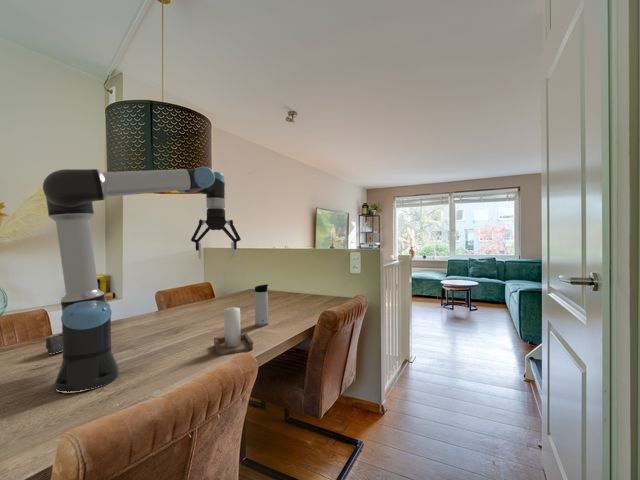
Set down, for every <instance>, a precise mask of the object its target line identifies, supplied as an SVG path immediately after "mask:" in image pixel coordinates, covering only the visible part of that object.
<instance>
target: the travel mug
mask: <svg viewBox="0 0 640 480" xmlns="http://www.w3.org/2000/svg"><path fill="white" fill-rule="evenodd" d="M268 286H269V284H261V285H256V286H254V310H255V311H254V319H255V320H254V321H255V323H254V325H255V326H256V327H266V326H268V325H269V301H268V300H269V297H268V295H269V293H268Z"/></svg>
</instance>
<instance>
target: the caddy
mask: <svg viewBox="0 0 640 480" xmlns="http://www.w3.org/2000/svg"><path fill="white" fill-rule="evenodd" d="M213 347H214V350H215V353H216V356H217V357H219V356H224V355H231V354H236V353H242V352H248V351H247V350H249V351H253V350H254V341H253V340H252V339H251V338H250V336H249V335H248V333H241V345H240V346H237V347H231V348H229V347H225V336H219V337H214V338H213ZM252 349H253V350H252ZM240 351H241V352H240Z"/></svg>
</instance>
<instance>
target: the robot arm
mask: <svg viewBox="0 0 640 480" xmlns="http://www.w3.org/2000/svg"><path fill="white" fill-rule="evenodd" d="M225 187H226V181H225V175H224V174H223V173H222V172H219V171H213V170H212V169H211V168H210V167H208V166H199V167H197V168H178V169H155V170H154V169H153V170H131V171H129V170H128V171H125V170H124V171H104V172H103V171H101V170H99V169H97V168H94V169H93V168H92V169H89V168H88V169H86V168H84V169H81V168H79V169H76V168H75V169H71V168H70V169H67V168H66V169H65V168H64V169H60V170H56V171H52V172H51V173H50V174H48V175H47V176H46V177H45V179H44V181H43V183H42V191H43V193H44V196H45V201H46V205H47V213H48V217H49V218H50V219H52V220H53V221H54V222H55V225H56V226H55V227H56V232H57V233H56V234H57V239H58V245H59V246H58V247H59V253H60V261H61V268H62V275H63V281H64V282H63V283H64V291H65V294H64V296H63V297H62V298H61V299H60V304H61V311H62V312H61V317H60V321H61V325H62V326H61V334H62V343H63V352H62V362H61V366H60V368H59V371H58V373H57V377H56V378H55V382H54V388H56V389H57V390H59V391H67V392H68V391H69V392H70V391H80V390H85V389H91V388H95V387H98V386H101V385H104V384H106V385H108V384H110V383H111V381H112V382H113V381H115V380H116V379H117V378H118V377H117V376H119V366H118V364H117V360H116V359H115V357H114V354H113V352H112V326H111V325H112V322H111V321H112V320H111V318H112V317H111V316H112V310H111V305H110V303H108V302H107V301H106V297H105V292H104V291H102V290H100V289H99V284H98V277H97V276H98V275H97V268H96V261H95V254H94V247H93V239H92V232H91V223H90V219H91V218H92V217H94V215H95V213H94V204H93V202H100V201H105V200H106V199H107V198H108V197H110V198H111V197H119V196H121V197H122V196H130V195H131V196H132V195H140V194H142V195H143V194H155V193H165V192H168V193H169V192H176V191H177V192H178V193H183V194H184V193H185V194H186V193H187V194H202V195H206V196H205V197H206V208H207V209H206V219H205V220H204V219H199V221H198V225H197V227H196V229H195V231H194V233H193V235H192V237H191V239H190V241H191V242H193V243H195V251H196V252H197V251H198V259H202V246H201V245H202V243H201V240H202V239H203V238H204V237H205V236H206V234H207V233H208V232H209V231H223V232H224V233H225V234H226V235H227V237H228V238H229V239H230V240H231V241H232V242H230V243H231V244H230V246H231V247H230V249H231V252H230V253H231V258H235V250H237V242H239V241H241V236H240V235H239V234H238V232H237V229H236V228H235V225H234V220H233V219H230V220H226V210H225V208H226V200H225V199H226V197H225V196H226V195H225V193H226V191H225V189H226V188H225ZM205 224H206V226H207V227H206V228H205V230H203V232H202V233H201V234H200V235H199V236H198V234H199V231H201V228H202V226H204V225H205ZM226 224H227V225H228V226H229V227H230V229H231V231H232V233H233V235H234V236H233V235H232V234H231V232H230V231H229V230H228V229H227V227H225V226H226ZM197 236H198V238H197ZM196 238H197V239H196ZM116 377H117V378H116ZM115 378H116V379H115ZM114 379H115V380H114ZM109 382H110V383H109ZM107 383H108V384H107ZM104 386H105V385H104ZM101 387H102V386H101ZM98 388H99V387H98Z"/></svg>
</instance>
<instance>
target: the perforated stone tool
mask: <svg viewBox="0 0 640 480" xmlns="http://www.w3.org/2000/svg"><path fill="white" fill-rule="evenodd" d="M45 343H46V344H45V348H46V350H47V354H48V353H52V354H53V353H56V352H59V351H62V350H63V343H62V333H60V334H58V335H52V336H50V337H47V338H45Z"/></svg>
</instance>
